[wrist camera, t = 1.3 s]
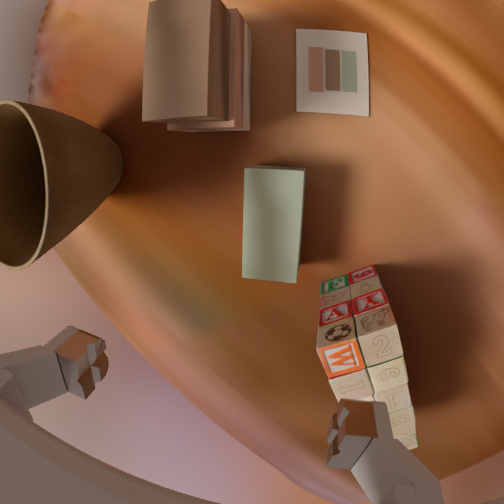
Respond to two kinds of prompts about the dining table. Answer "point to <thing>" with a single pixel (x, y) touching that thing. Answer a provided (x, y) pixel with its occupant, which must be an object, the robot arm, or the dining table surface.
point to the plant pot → (49, 178)
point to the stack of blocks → (365, 348)
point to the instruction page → (332, 72)
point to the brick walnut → (186, 62)
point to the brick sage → (273, 222)
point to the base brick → (232, 83)
